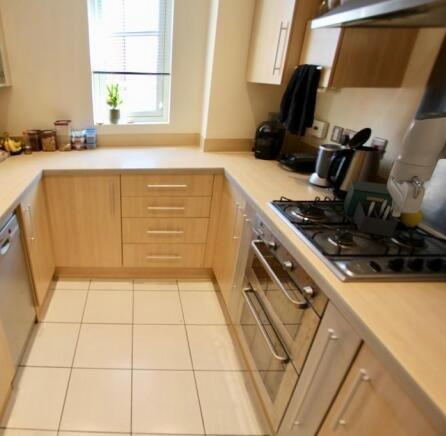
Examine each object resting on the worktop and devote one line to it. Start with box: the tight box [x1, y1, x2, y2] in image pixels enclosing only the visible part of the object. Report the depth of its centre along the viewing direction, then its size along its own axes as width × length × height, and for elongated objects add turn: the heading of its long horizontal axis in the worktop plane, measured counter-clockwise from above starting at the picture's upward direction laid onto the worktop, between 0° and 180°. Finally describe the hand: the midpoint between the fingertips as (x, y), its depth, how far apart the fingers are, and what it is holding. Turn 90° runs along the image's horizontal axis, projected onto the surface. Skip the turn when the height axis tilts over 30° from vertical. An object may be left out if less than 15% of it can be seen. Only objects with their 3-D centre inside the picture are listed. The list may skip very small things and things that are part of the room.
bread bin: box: [343, 179, 393, 216], centre depth 121 cm, size 14×11×11 cm
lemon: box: [399, 208, 424, 228], centre depth 112 cm, size 6×6×8 cm
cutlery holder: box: [352, 200, 398, 238], centre depth 111 cm, size 9×14×10 cm, turn 152°
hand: (394, 214), depth 96 cm, fingers closed
